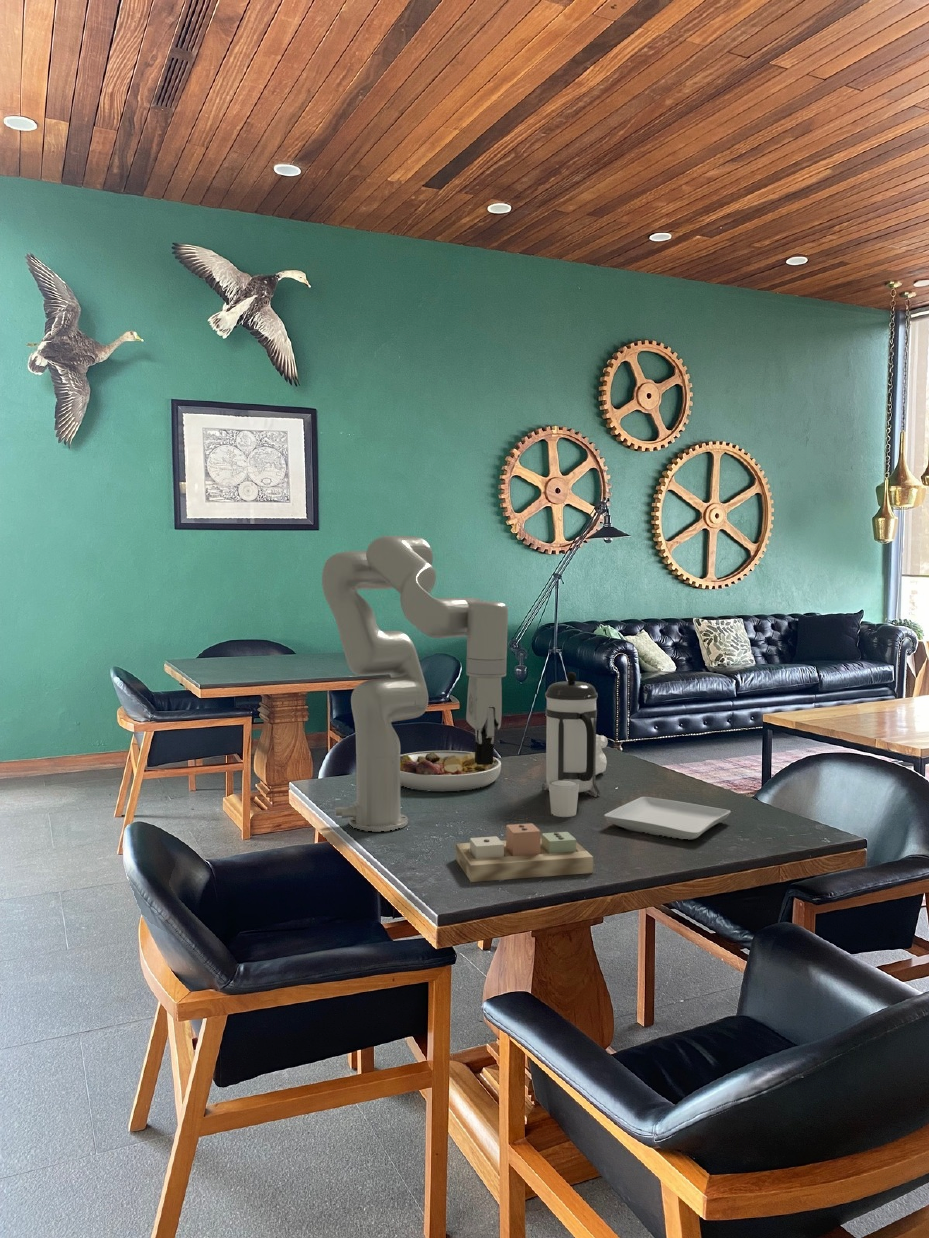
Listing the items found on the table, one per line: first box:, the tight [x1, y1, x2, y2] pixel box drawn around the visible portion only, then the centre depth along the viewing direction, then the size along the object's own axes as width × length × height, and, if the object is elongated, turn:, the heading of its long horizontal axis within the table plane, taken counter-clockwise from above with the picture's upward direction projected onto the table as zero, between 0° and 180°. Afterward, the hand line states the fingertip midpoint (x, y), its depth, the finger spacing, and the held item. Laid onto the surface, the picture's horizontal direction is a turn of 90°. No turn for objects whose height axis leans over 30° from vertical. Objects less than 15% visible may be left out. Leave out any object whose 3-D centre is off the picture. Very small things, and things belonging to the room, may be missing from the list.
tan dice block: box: [505, 823, 542, 856], centre depth 175 cm, size 5×5×5 cm
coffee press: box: [541, 671, 601, 798], centre depth 227 cm, size 17×16×30 cm
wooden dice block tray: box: [455, 839, 594, 883], centre depth 175 cm, size 23×13×3 cm, turn 102°
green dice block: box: [541, 831, 577, 854], centre depth 176 cm, size 5×5×5 cm
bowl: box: [400, 750, 502, 792], centre depth 243 cm, size 30×30×8 cm
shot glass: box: [548, 780, 579, 818], centre depth 211 cm, size 7×7×7 cm
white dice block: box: [469, 835, 504, 859], centre depth 173 cm, size 5×5×5 cm
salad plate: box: [603, 796, 731, 840], centre depth 201 cm, size 21×21×3 cm
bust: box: [595, 734, 609, 776], centre depth 252 cm, size 12×8×11 cm
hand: (483, 763), depth 176 cm, fingers closed
